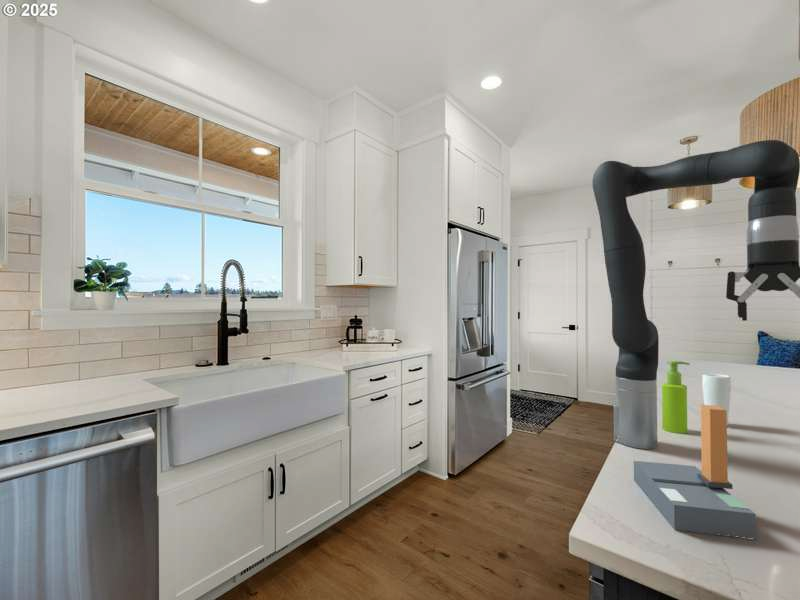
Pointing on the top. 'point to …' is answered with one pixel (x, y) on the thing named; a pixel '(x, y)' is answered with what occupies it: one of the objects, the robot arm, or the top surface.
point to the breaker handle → (714, 447)
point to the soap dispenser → (674, 401)
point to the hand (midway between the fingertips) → (773, 321)
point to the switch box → (693, 500)
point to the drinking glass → (716, 390)
